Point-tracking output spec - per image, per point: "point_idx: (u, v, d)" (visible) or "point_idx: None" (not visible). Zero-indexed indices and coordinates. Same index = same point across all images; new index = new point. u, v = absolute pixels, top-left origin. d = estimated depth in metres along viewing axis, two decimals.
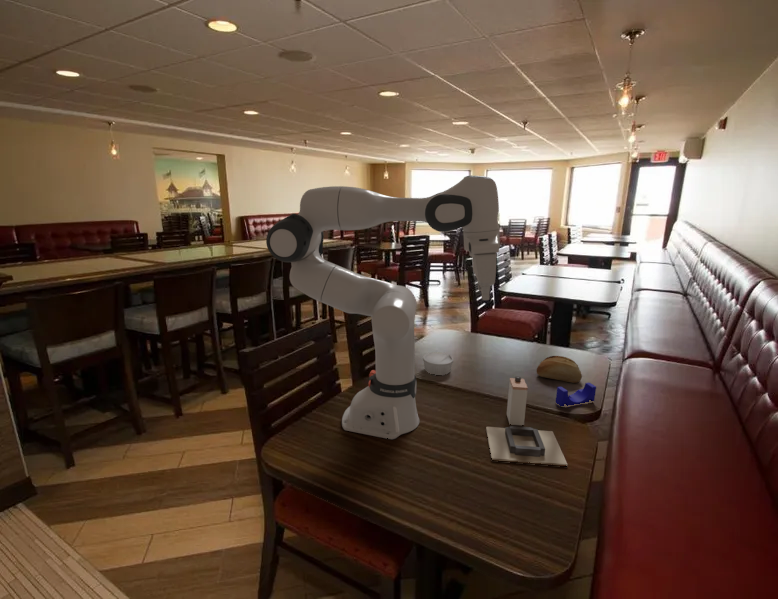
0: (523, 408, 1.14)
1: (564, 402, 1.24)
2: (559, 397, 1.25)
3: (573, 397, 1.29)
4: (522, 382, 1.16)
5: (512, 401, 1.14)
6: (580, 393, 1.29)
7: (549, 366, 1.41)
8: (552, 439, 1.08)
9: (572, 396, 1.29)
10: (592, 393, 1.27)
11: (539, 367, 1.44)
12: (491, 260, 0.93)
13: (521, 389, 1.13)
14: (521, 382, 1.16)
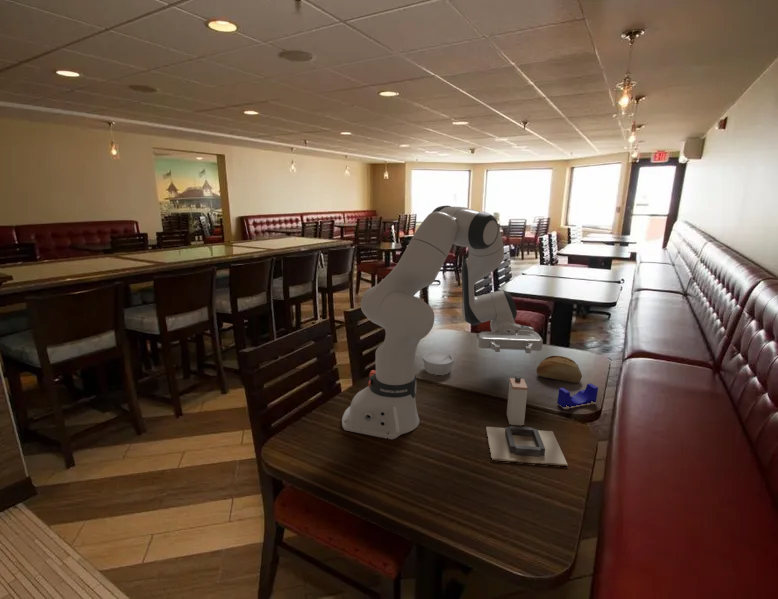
0: (523, 408, 1.14)
1: (566, 403, 1.24)
2: (561, 398, 1.25)
3: (575, 398, 1.28)
4: (522, 382, 1.16)
5: (512, 401, 1.14)
6: (582, 394, 1.28)
7: (549, 366, 1.41)
8: (552, 439, 1.08)
9: (574, 397, 1.29)
10: (594, 394, 1.26)
11: (539, 367, 1.44)
12: None
13: (521, 389, 1.13)
14: (521, 382, 1.16)
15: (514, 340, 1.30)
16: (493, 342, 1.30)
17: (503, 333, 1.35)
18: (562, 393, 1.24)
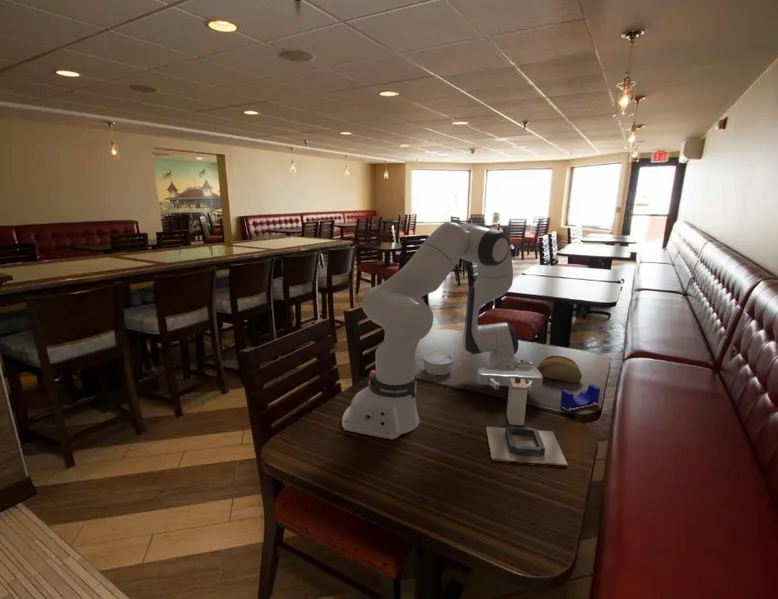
0: (523, 408, 1.14)
1: (569, 405, 1.23)
2: (564, 400, 1.23)
3: (577, 399, 1.27)
4: (522, 382, 1.16)
5: (512, 401, 1.14)
6: (584, 395, 1.28)
7: (549, 366, 1.41)
8: (552, 439, 1.08)
9: (576, 398, 1.28)
10: (596, 395, 1.25)
11: (539, 367, 1.44)
12: None
13: (521, 389, 1.13)
14: (521, 382, 1.16)
15: (514, 377, 1.27)
16: (492, 379, 1.27)
17: (502, 368, 1.32)
18: (565, 395, 1.23)
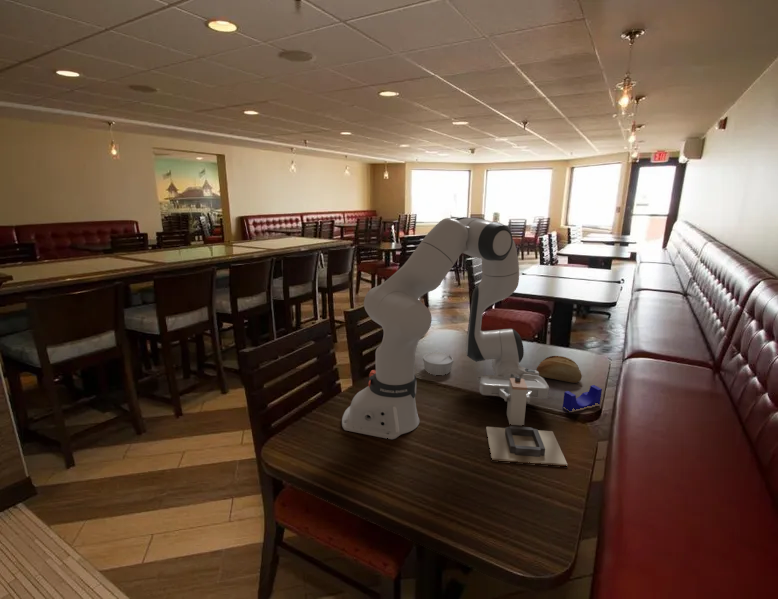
0: (523, 408, 1.14)
1: (572, 407, 1.22)
2: (567, 402, 1.22)
3: (579, 401, 1.26)
4: (522, 382, 1.16)
5: (512, 401, 1.14)
6: (585, 396, 1.27)
7: (549, 366, 1.41)
8: (552, 439, 1.08)
9: (578, 400, 1.27)
10: (598, 396, 1.25)
11: (539, 367, 1.44)
12: None
13: (521, 389, 1.13)
14: (521, 382, 1.16)
15: None
16: (503, 390, 1.19)
17: (506, 377, 1.25)
18: (568, 396, 1.22)
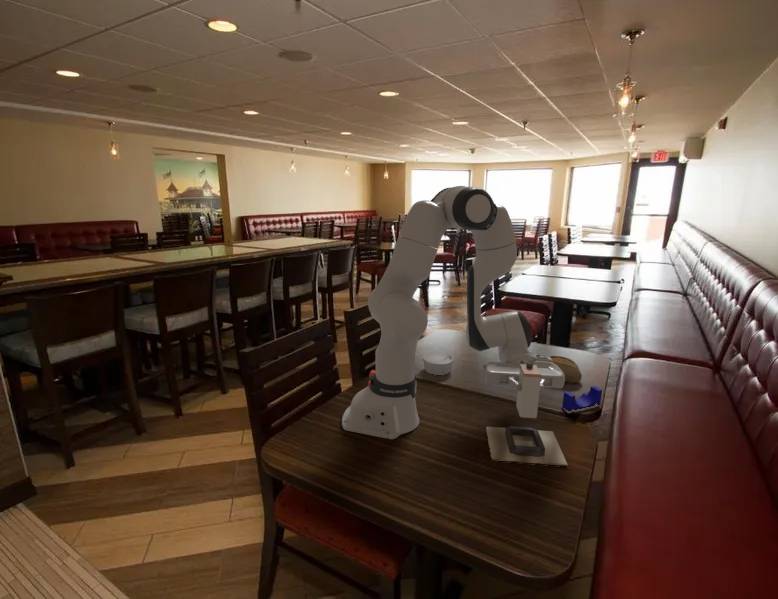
0: (536, 398, 1.00)
1: (571, 407, 1.21)
2: (566, 402, 1.22)
3: (579, 401, 1.26)
4: (534, 369, 1.01)
5: (523, 390, 1.00)
6: (586, 397, 1.26)
7: None
8: (552, 439, 1.08)
9: (578, 400, 1.27)
10: (598, 397, 1.24)
11: None
12: None
13: (534, 376, 0.99)
14: (533, 369, 1.01)
15: None
16: (512, 378, 1.05)
17: (516, 365, 1.11)
18: (567, 397, 1.22)
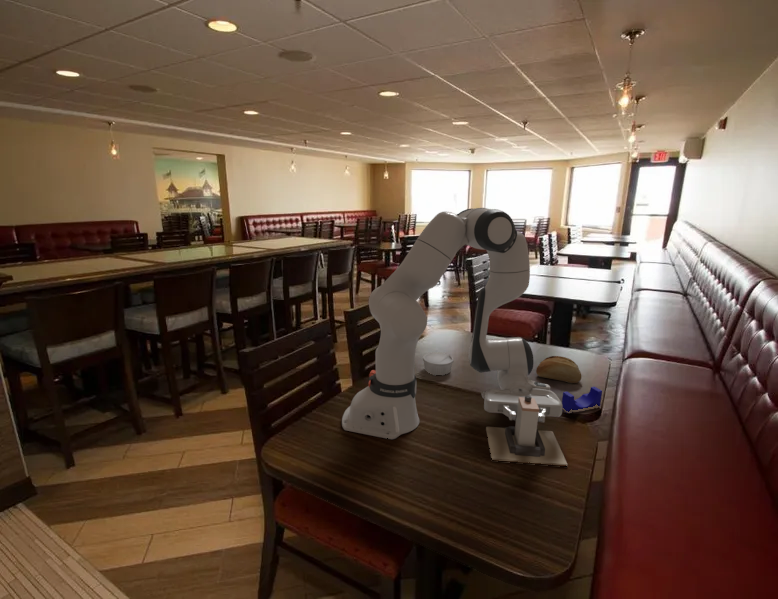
0: (533, 432, 1.02)
1: (570, 407, 1.21)
2: (565, 402, 1.22)
3: (578, 402, 1.26)
4: (533, 402, 1.03)
5: (521, 424, 1.02)
6: (585, 398, 1.26)
7: (549, 366, 1.41)
8: (552, 439, 1.08)
9: (577, 401, 1.26)
10: (598, 397, 1.24)
11: (539, 367, 1.44)
12: None
13: (532, 411, 1.00)
14: (532, 402, 1.03)
15: None
16: (507, 407, 1.07)
17: (514, 392, 1.12)
18: (566, 397, 1.21)
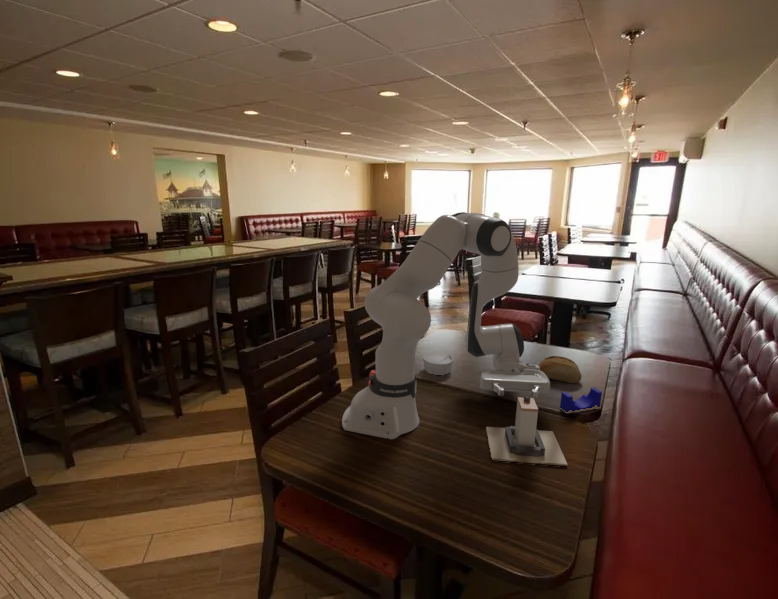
0: (533, 432, 1.02)
1: (569, 408, 1.21)
2: (564, 403, 1.22)
3: (578, 402, 1.25)
4: (532, 402, 1.03)
5: (521, 424, 1.02)
6: (585, 398, 1.26)
7: (549, 366, 1.41)
8: (552, 439, 1.08)
9: (577, 401, 1.26)
10: (598, 398, 1.23)
11: None
12: None
13: (531, 411, 1.00)
14: (531, 402, 1.03)
15: (519, 382, 1.19)
16: (496, 384, 1.19)
17: (507, 372, 1.25)
18: (565, 397, 1.21)
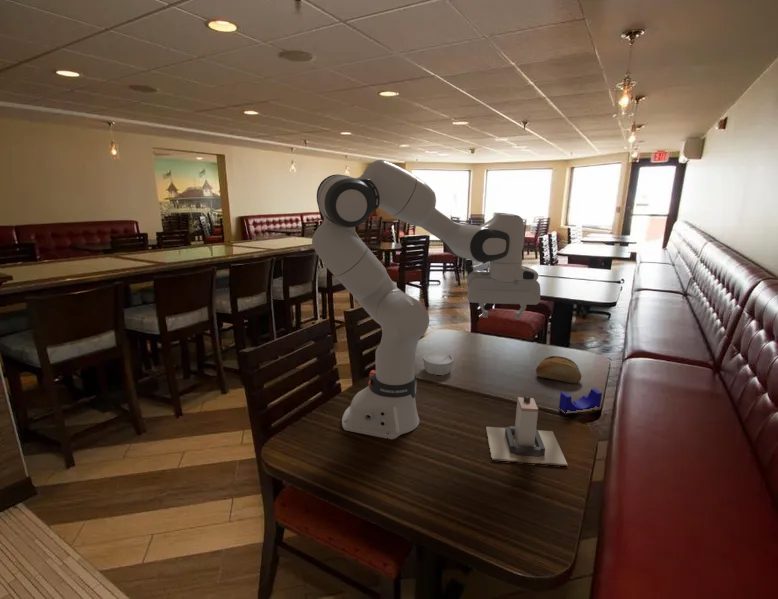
0: (533, 432, 1.02)
1: (567, 408, 1.21)
2: (562, 403, 1.22)
3: (578, 403, 1.25)
4: (532, 402, 1.03)
5: (521, 424, 1.02)
6: (585, 399, 1.25)
7: (549, 366, 1.41)
8: (552, 439, 1.08)
9: (577, 402, 1.26)
10: (597, 400, 1.23)
11: (538, 367, 1.44)
12: None
13: (531, 411, 1.00)
14: (531, 402, 1.03)
15: (507, 303, 1.15)
16: (482, 306, 1.17)
17: (499, 284, 1.14)
18: (563, 397, 1.21)
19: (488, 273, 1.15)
